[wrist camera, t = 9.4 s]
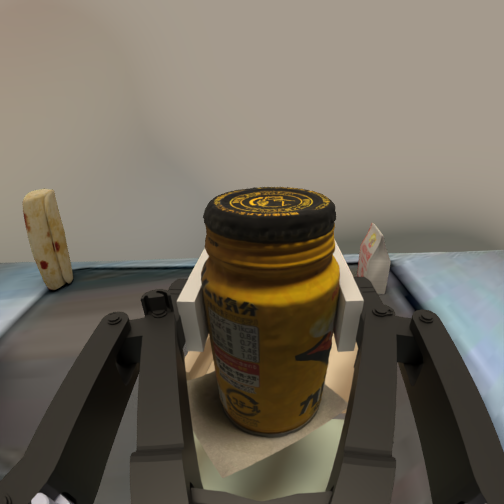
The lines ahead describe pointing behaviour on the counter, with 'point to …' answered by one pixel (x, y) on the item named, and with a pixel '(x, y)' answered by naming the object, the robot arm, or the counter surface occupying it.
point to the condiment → (266, 324)
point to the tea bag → (374, 259)
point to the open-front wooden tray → (291, 457)
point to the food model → (47, 238)
